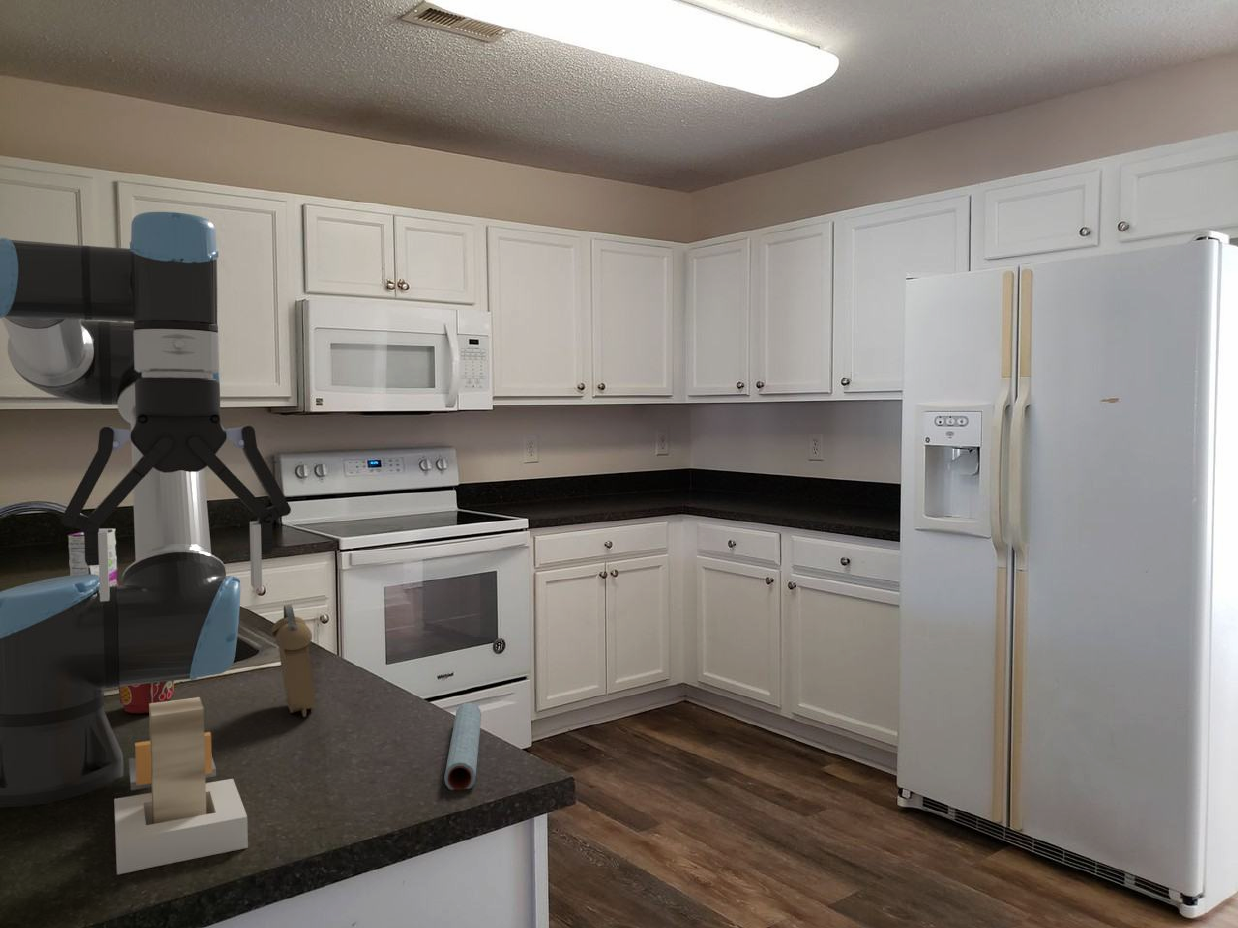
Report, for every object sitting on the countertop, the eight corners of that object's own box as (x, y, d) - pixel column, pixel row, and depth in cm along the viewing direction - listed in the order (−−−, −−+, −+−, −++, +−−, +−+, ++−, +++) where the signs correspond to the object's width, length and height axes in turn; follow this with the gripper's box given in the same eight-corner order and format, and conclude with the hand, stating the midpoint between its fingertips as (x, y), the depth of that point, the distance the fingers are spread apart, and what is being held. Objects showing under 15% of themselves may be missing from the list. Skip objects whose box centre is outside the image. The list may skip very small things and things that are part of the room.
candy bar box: (97, 599, 219) (95, 528, 218) (119, 599, 219) (117, 528, 218) (69, 608, 208) (66, 534, 207) (91, 608, 208) (89, 534, 207)
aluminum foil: (455, 727, 127) (455, 702, 126) (506, 725, 127) (506, 700, 127) (444, 794, 104) (443, 763, 104) (505, 791, 105) (505, 760, 105)
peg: (152, 834, 93) (149, 703, 93) (202, 824, 95) (199, 696, 95) (155, 852, 89) (151, 715, 89) (207, 842, 91) (203, 708, 91)
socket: (116, 874, 85) (115, 841, 85) (115, 828, 95) (114, 798, 94) (247, 847, 90) (247, 816, 90) (233, 806, 100) (233, 778, 100)
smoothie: (189, 707, 135) (185, 567, 134) (127, 720, 129) (122, 574, 128) (165, 695, 141) (161, 561, 140) (104, 708, 135) (100, 568, 134)
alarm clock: (318, 719, 129) (315, 610, 128) (279, 724, 127) (277, 613, 126) (307, 698, 139) (305, 596, 138) (271, 702, 137) (269, 599, 136)
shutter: (131, 794, 95) (129, 747, 95) (128, 765, 103) (127, 721, 103) (217, 779, 99) (216, 734, 99) (208, 752, 107) (207, 710, 107)
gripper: (23, 372, 83) (31, 611, 85) (317, 377, 95) (320, 588, 96) (31, 375, 90) (38, 597, 91) (304, 379, 102) (307, 576, 103)
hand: (183, 592), depth 94 cm, fingers open, 13 cm apart
